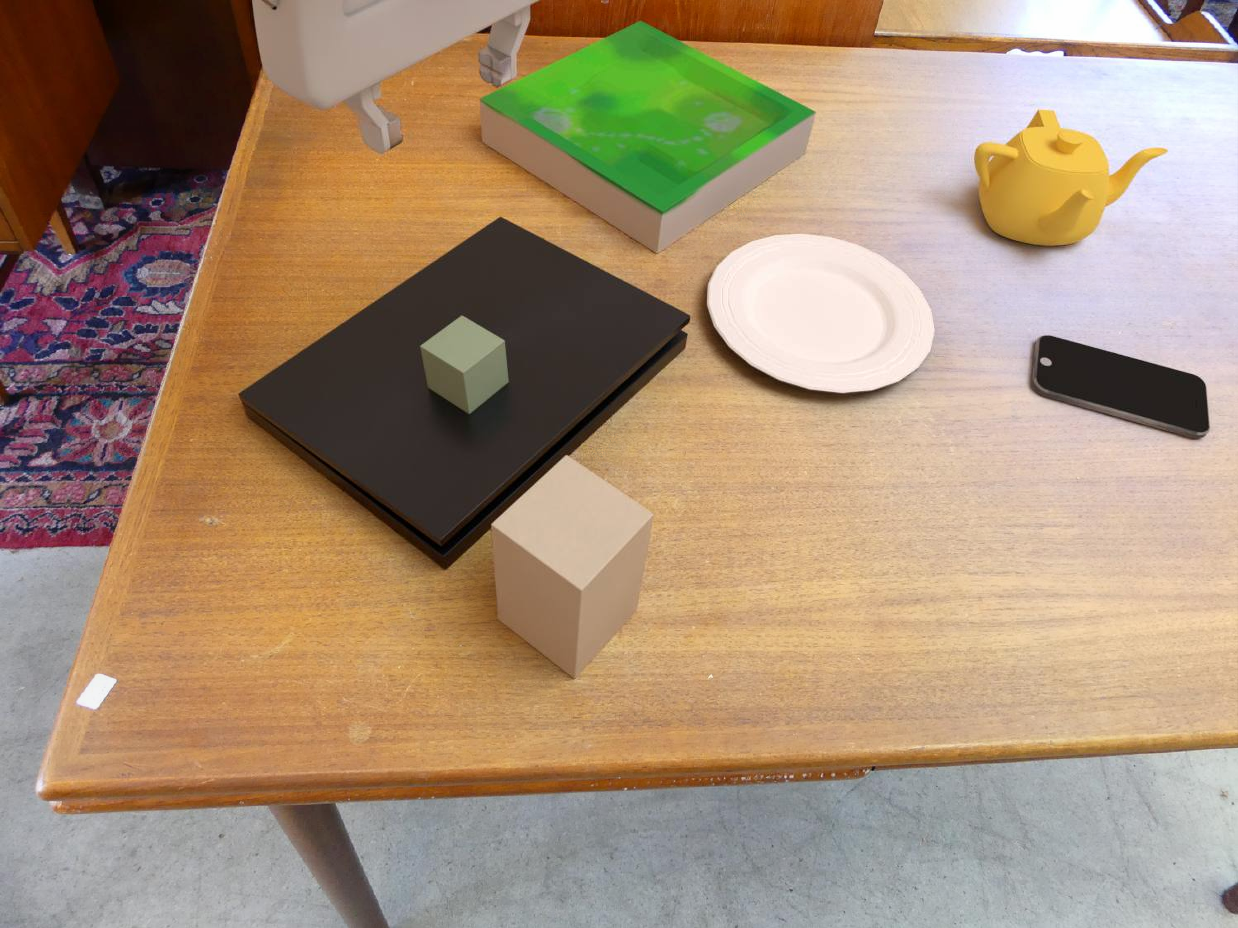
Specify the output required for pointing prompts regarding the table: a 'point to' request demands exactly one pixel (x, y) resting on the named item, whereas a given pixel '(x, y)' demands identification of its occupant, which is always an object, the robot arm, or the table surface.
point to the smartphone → (1121, 386)
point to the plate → (820, 313)
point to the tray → (646, 132)
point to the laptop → (515, 490)
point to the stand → (570, 563)
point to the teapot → (1050, 182)
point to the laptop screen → (433, 426)
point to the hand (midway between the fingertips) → (443, 111)
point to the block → (465, 364)
